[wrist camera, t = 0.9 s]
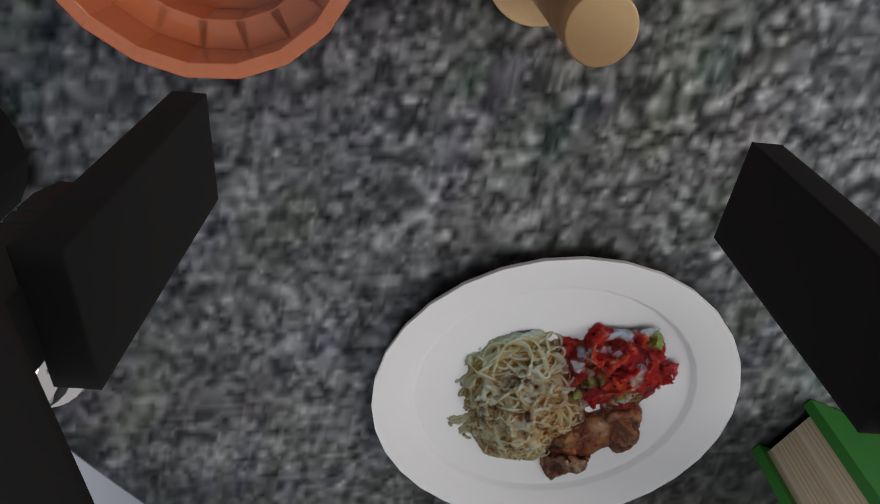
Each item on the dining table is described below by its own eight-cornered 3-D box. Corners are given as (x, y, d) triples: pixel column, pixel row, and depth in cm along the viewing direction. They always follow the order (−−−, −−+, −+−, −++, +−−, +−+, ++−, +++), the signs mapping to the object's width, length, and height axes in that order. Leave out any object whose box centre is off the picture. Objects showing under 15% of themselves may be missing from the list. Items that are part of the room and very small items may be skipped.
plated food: (323, 451, 56) (317, 483, 53) (473, 182, 41) (476, 206, 38) (600, 530, 63) (608, 562, 60) (811, 326, 48) (835, 355, 45)
